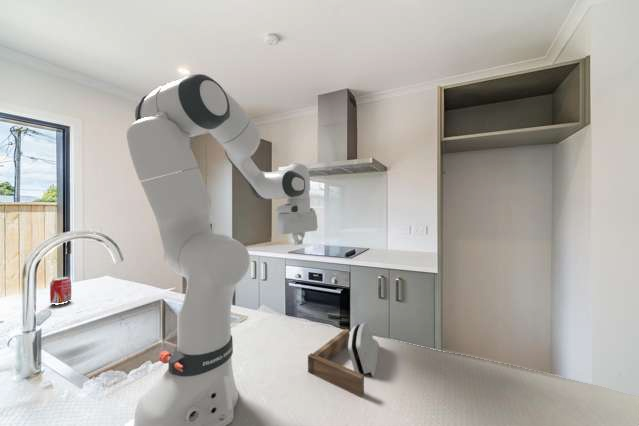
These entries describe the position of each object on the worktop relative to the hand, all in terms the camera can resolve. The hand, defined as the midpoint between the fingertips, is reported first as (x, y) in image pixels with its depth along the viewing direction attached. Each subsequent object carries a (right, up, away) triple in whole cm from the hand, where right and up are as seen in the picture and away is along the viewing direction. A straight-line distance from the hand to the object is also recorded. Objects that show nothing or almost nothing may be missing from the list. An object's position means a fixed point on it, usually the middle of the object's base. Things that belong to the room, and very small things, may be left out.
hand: (298, 244), depth 97 cm
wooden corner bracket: (+17, -31, -24) cm, 43 cm away
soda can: (-115, -31, +24) cm, 121 cm away
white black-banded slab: (+21, -32, -21) cm, 43 cm away
